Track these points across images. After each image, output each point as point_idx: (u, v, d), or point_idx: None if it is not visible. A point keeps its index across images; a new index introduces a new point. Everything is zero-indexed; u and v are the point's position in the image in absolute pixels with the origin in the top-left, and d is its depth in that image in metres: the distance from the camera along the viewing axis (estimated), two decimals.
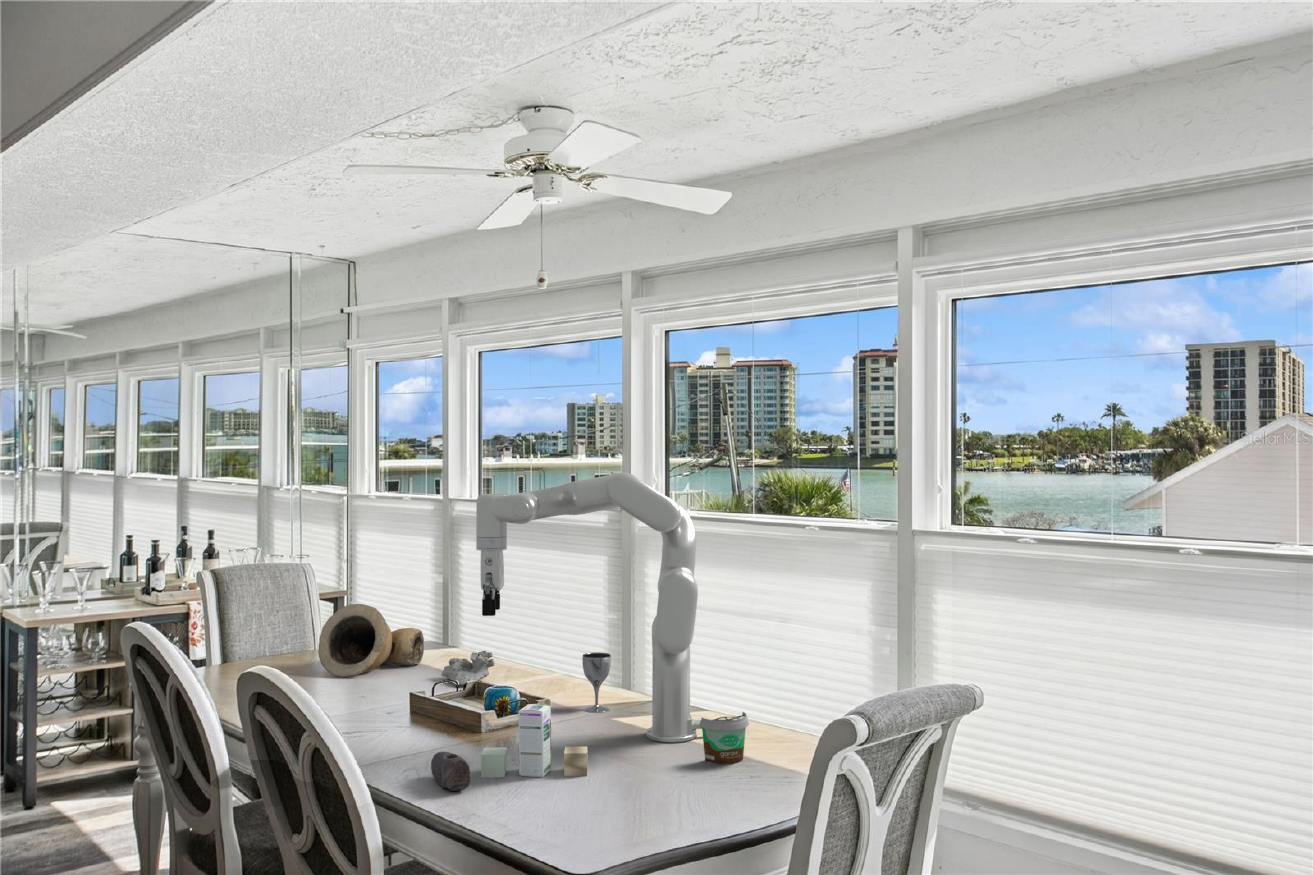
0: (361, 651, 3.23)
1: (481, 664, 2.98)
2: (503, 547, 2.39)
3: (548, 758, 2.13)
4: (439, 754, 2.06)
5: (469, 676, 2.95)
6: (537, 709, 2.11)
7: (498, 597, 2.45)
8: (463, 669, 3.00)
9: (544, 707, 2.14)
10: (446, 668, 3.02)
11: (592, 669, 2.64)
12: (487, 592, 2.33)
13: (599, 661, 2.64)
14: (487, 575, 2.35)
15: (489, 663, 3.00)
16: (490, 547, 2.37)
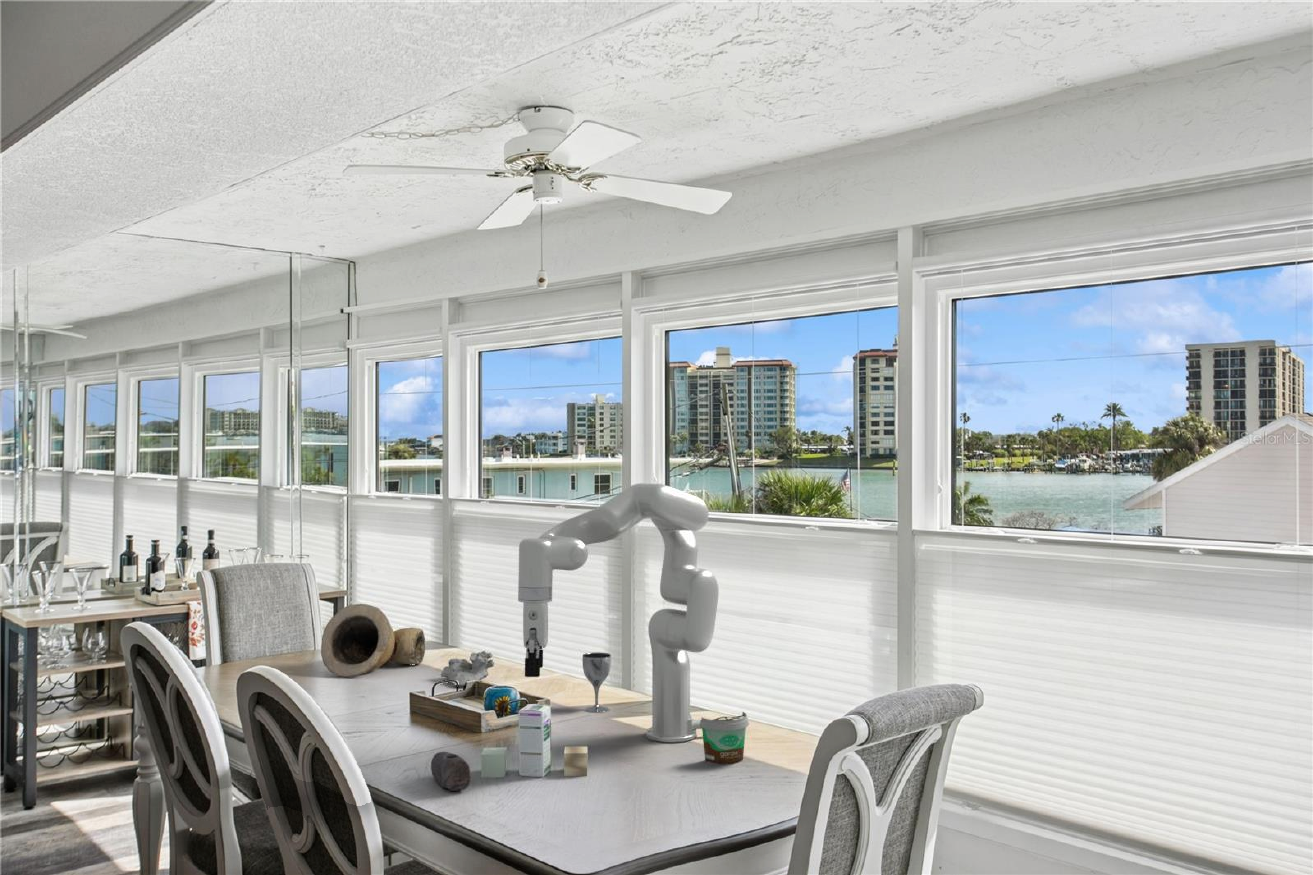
0: (363, 651, 3.23)
1: (480, 665, 2.97)
2: (549, 599, 2.12)
3: (548, 758, 2.13)
4: (439, 754, 2.06)
5: (468, 677, 2.94)
6: (537, 709, 2.11)
7: (541, 654, 2.18)
8: (462, 670, 2.99)
9: (544, 707, 2.14)
10: (445, 669, 3.02)
11: (592, 669, 2.64)
12: (531, 651, 2.06)
13: (599, 661, 2.64)
14: (531, 631, 2.08)
15: (488, 664, 2.99)
16: (534, 599, 2.10)
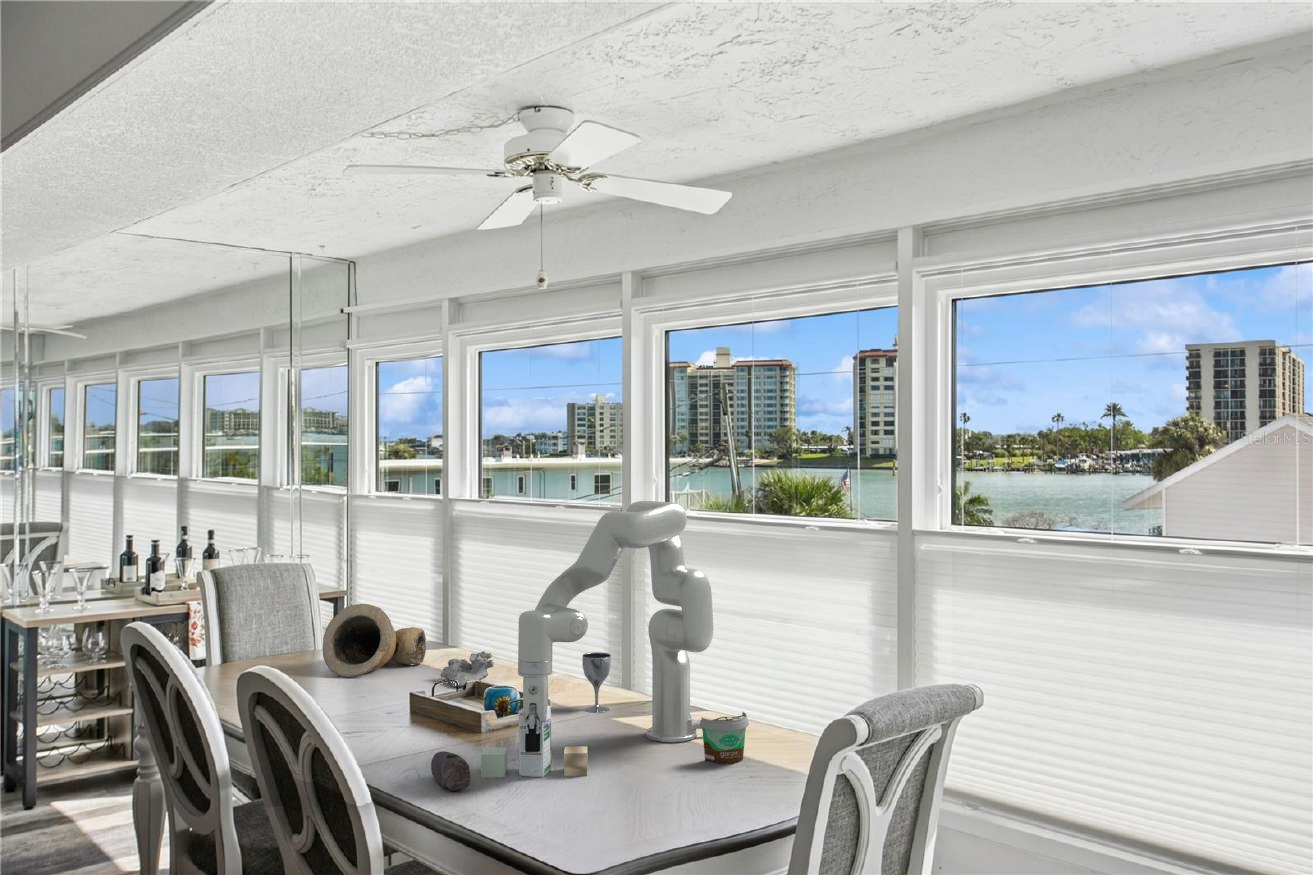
0: (364, 651, 3.23)
1: (480, 665, 2.97)
2: (548, 672, 2.12)
3: (548, 758, 2.13)
4: (439, 754, 2.06)
5: (468, 677, 2.94)
6: None
7: None
8: (462, 670, 2.98)
9: None
10: (445, 669, 3.01)
11: (592, 669, 2.64)
12: (531, 727, 2.06)
13: (599, 661, 2.64)
14: (531, 706, 2.08)
15: (488, 664, 2.98)
16: (534, 673, 2.10)
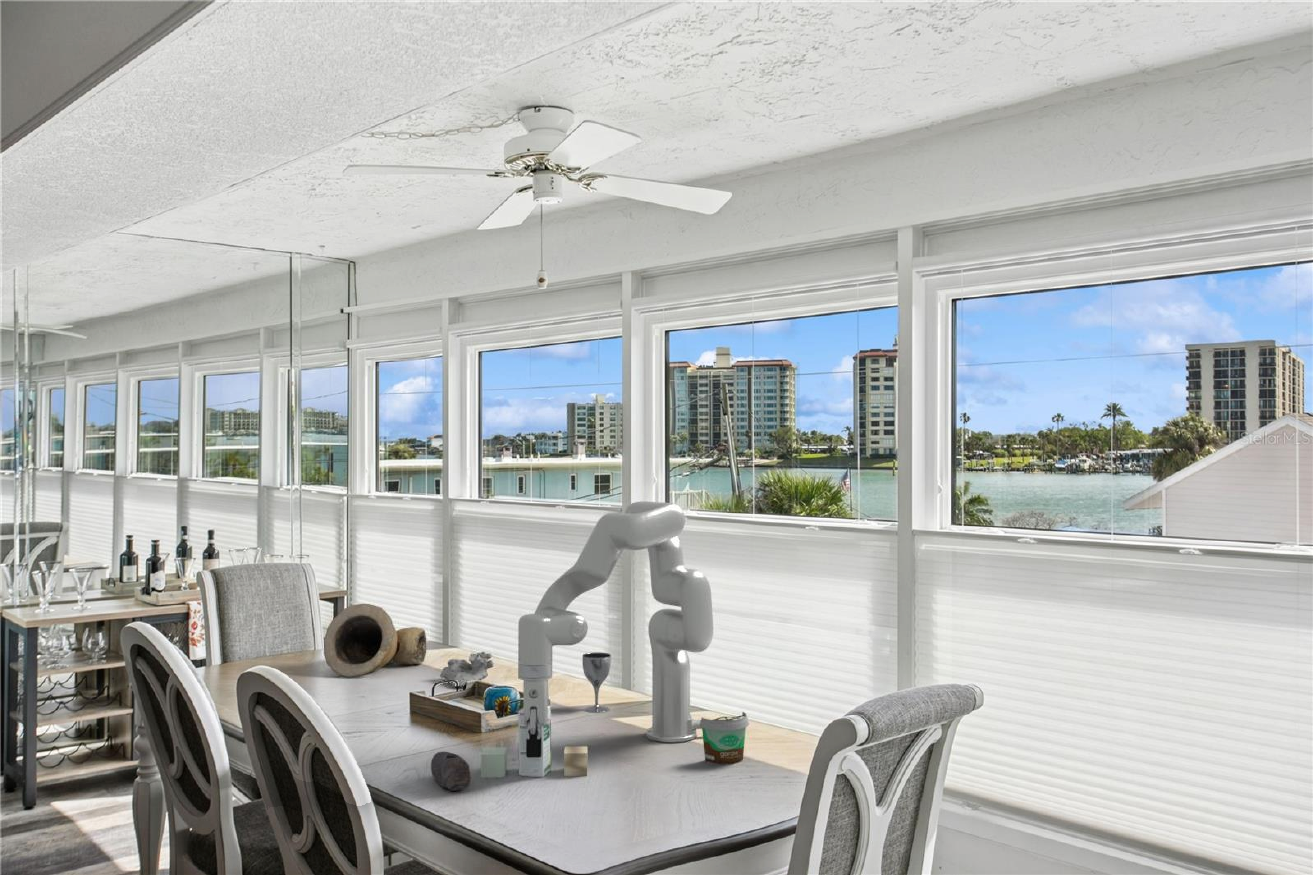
0: (365, 651, 3.23)
1: (480, 665, 2.96)
2: (549, 676, 2.12)
3: (548, 758, 2.13)
4: (439, 754, 2.06)
5: (467, 677, 2.93)
6: None
7: None
8: (462, 670, 2.98)
9: None
10: (445, 669, 3.01)
11: (592, 669, 2.64)
12: (532, 732, 2.07)
13: (599, 661, 2.64)
14: (532, 712, 2.08)
15: (488, 664, 2.98)
16: (534, 677, 2.10)
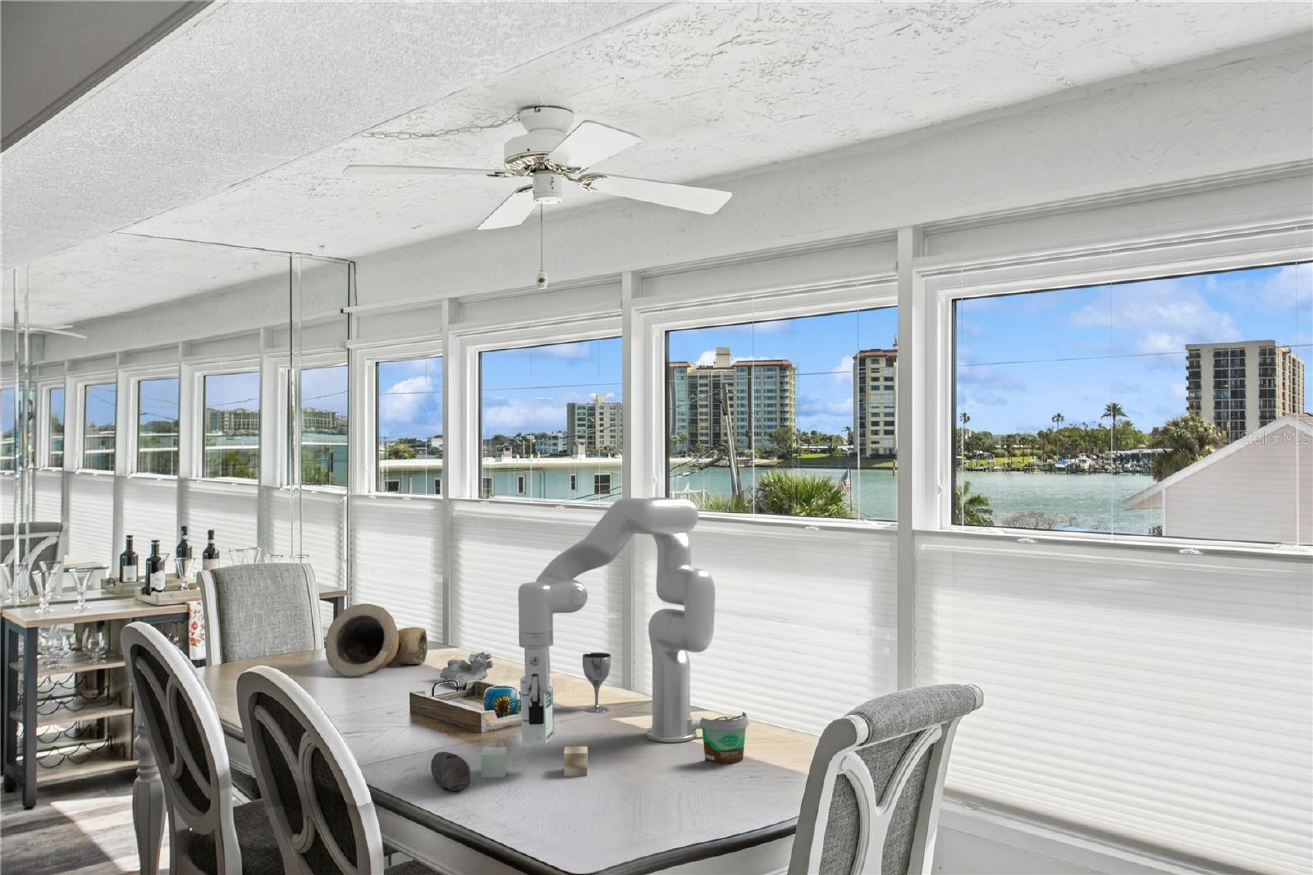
0: (366, 651, 3.23)
1: (479, 666, 2.96)
2: (550, 643, 2.12)
3: (550, 725, 2.14)
4: (439, 754, 2.06)
5: (467, 678, 2.93)
6: None
7: None
8: (461, 671, 2.97)
9: None
10: (444, 669, 3.00)
11: (592, 669, 2.64)
12: (534, 699, 2.08)
13: (599, 661, 2.64)
14: (533, 679, 2.09)
15: (487, 665, 2.97)
16: (535, 644, 2.10)
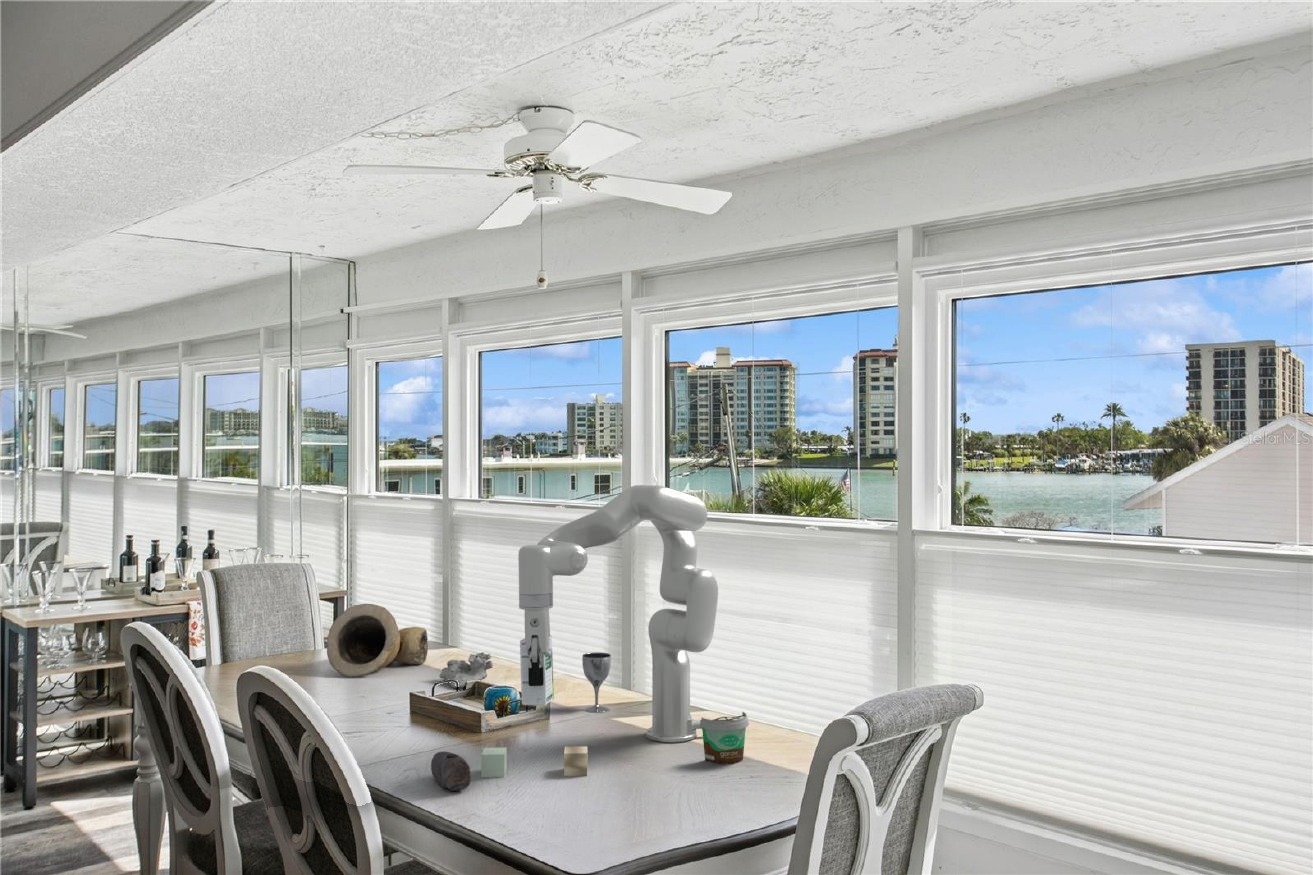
0: (366, 651, 3.23)
1: (479, 666, 2.95)
2: (549, 605, 2.12)
3: (550, 687, 2.14)
4: (439, 754, 2.06)
5: (466, 678, 2.92)
6: None
7: None
8: (461, 671, 2.97)
9: None
10: (444, 670, 3.00)
11: (592, 669, 2.64)
12: (534, 660, 2.08)
13: (599, 661, 2.64)
14: (533, 640, 2.09)
15: (487, 665, 2.97)
16: (535, 606, 2.10)
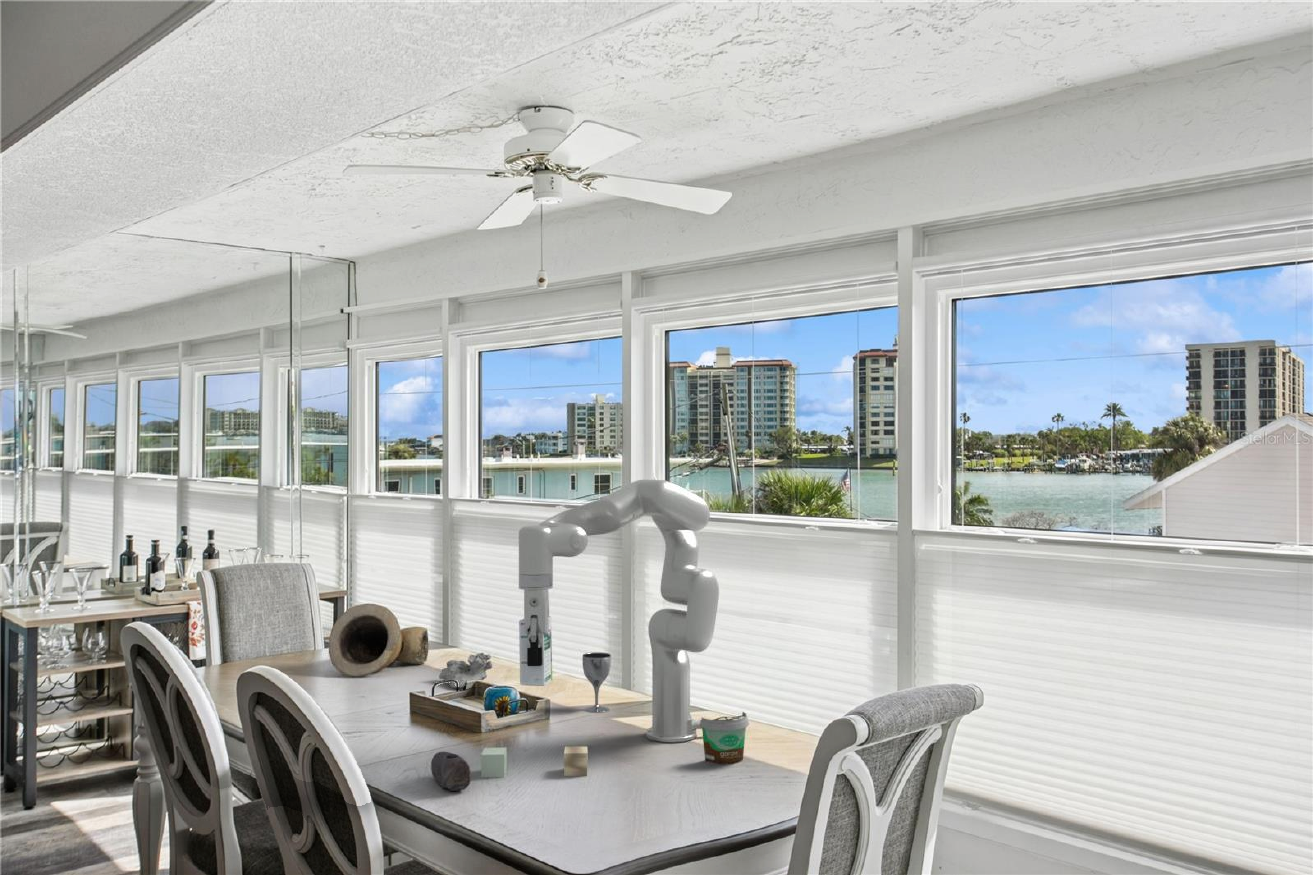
0: (368, 650, 3.23)
1: (478, 666, 2.94)
2: (549, 586, 2.12)
3: (548, 668, 2.14)
4: (439, 754, 2.06)
5: (466, 678, 2.92)
6: (537, 619, 2.12)
7: None
8: (461, 671, 2.96)
9: None
10: (444, 670, 2.99)
11: (592, 669, 2.64)
12: (533, 640, 2.08)
13: (599, 661, 2.64)
14: (532, 620, 2.09)
15: (487, 665, 2.96)
16: (535, 586, 2.11)
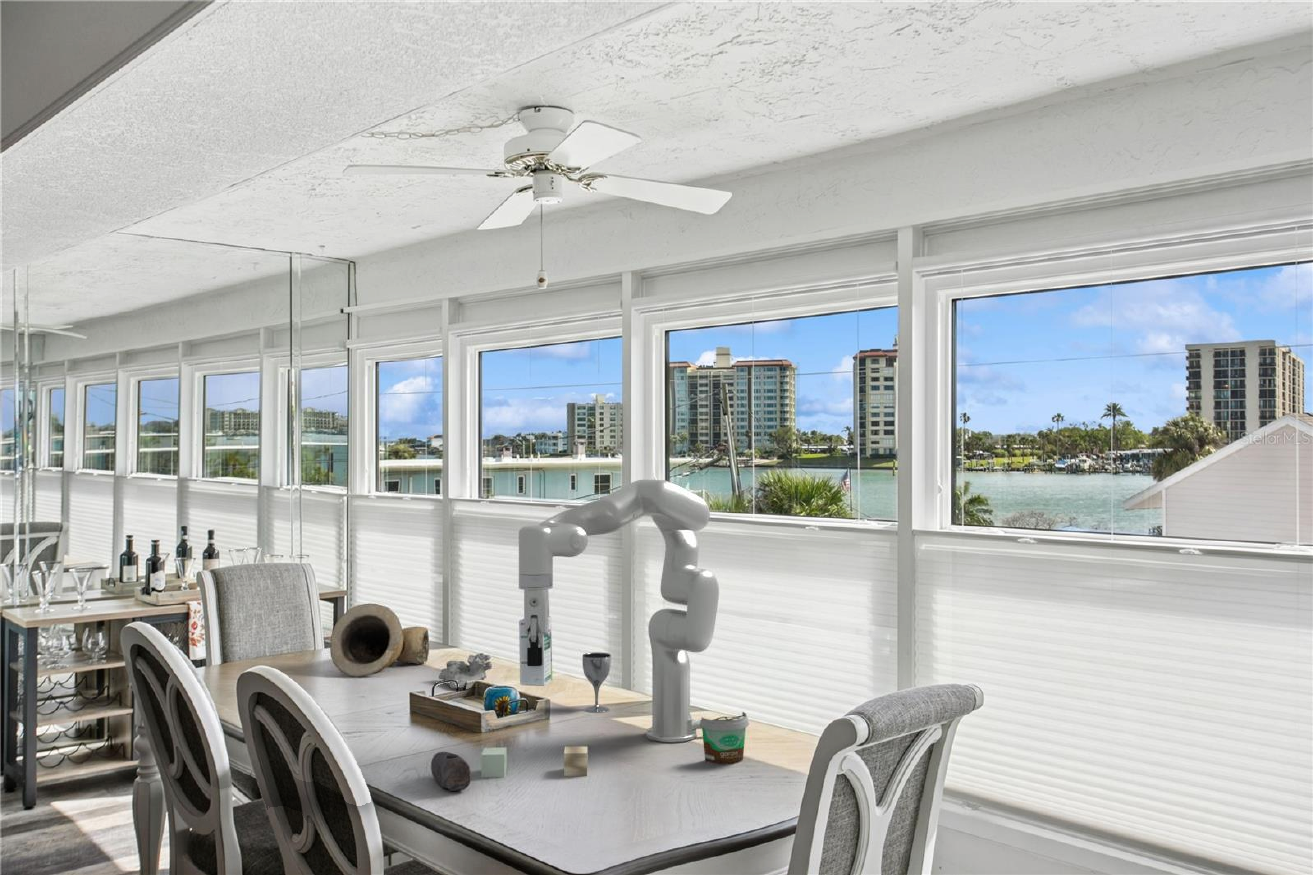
0: (369, 650, 3.23)
1: (478, 667, 2.94)
2: (549, 586, 2.12)
3: (548, 668, 2.14)
4: (439, 754, 2.06)
5: (465, 679, 2.91)
6: (537, 619, 2.12)
7: None
8: (460, 672, 2.96)
9: None
10: (443, 671, 2.99)
11: (592, 669, 2.64)
12: (533, 640, 2.08)
13: (599, 661, 2.64)
14: (532, 620, 2.09)
15: (486, 666, 2.95)
16: (535, 586, 2.11)
